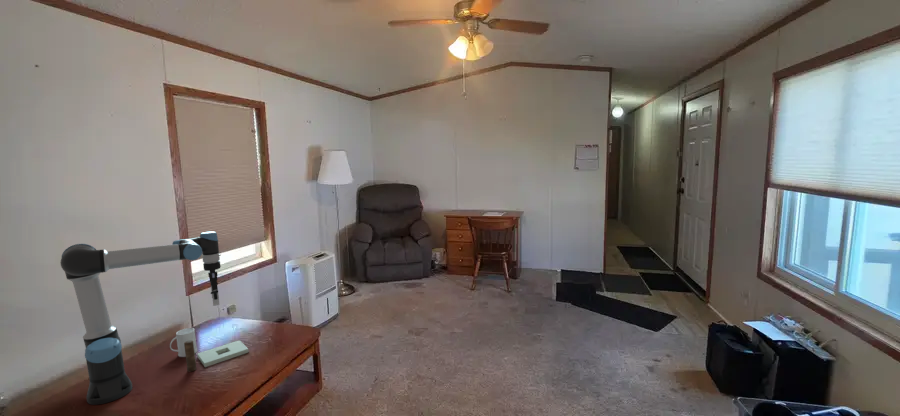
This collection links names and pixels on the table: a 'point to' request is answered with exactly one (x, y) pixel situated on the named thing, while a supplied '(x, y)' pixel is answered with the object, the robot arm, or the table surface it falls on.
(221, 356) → the socket board
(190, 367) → the peg
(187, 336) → the mug
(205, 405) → the table surface
